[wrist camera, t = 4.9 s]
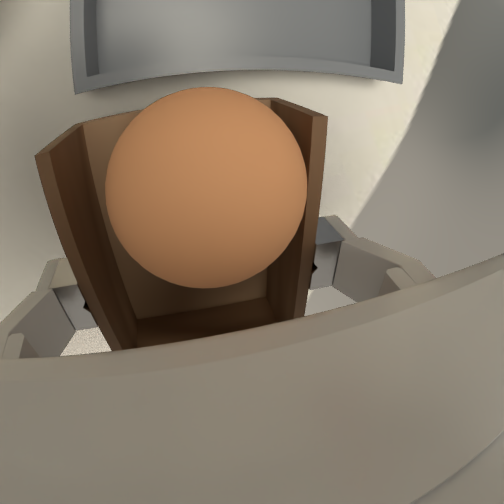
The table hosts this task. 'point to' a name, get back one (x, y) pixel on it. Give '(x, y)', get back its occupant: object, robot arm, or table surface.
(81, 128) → the small wooden box
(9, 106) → the table surface
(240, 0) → the tray
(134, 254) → the ball
